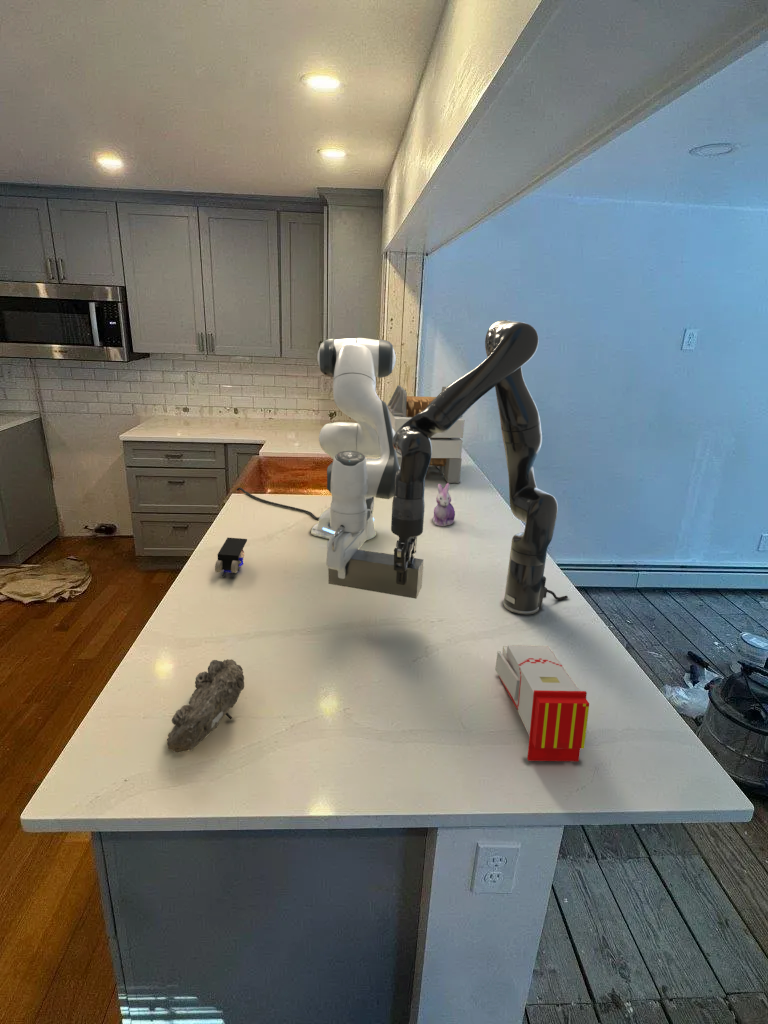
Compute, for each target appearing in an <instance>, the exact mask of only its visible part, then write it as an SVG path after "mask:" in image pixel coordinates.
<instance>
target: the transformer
mask: <svg viewBox="0 0 768 1024" xmlns="http://www.w3.org/2000/svg"><path fill="white" fill-rule="evenodd" d="M446 387H447V386H442V387H441V392H442V391H443V390H444V389H445V388H446ZM407 394H408V393H407V390H406V389H404V388H403V387H402V385H399V384H398V385H397V386H396V388H395V390H394V392H393V394H392V395H391V398H390V400H389V402H388V404H386V405H387V407H388V411H389V415H390V420H391V425H392V428H393V429H394V431H395V433H396V432H397V430H398V429H399V428H400V427H401V426H402V425H403V424H404V423H406V422H407V421H408V420H410V419H411V418H412V417H414V416H415V415H417V414H418V413H420V412H421V411H423V410H424V409H425V408H426V407H427V406H428V405H429V404H430V403H431V402H432V401H433V400H434V399H435V398H436V397H437V396H415V395H414V396H413V395H412V396H411V395H407ZM464 429H465V419H464V418H463V415H462V416H461V417H460V418H459V419H458V420H457V421H456V422H455V423H454V424H453V425H452V426H451V427H450V428H449V429H448V430H447V431H446V432H443V433H436V434H435V435H433V436H432V437H431V438H430V441H431V445H432V455H431V460H430V464H429V467H436V468H437V470H438V469H439V473H440V474H441V475H443V478H444V479H445V481H446V482H447V483H449V484H455V483H456V484H459V483H461V472H462V461H463V460H462V453H463V442H464V441H463V440H462V439H463V438H464V431H465V430H464ZM396 454H397V459H398V463H399V466H400V467H401V460H402V457H401V455H399V454H398V453H397V452H396Z"/></svg>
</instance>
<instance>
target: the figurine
mask: <svg viewBox="0 0 768 1024" xmlns="http://www.w3.org/2000/svg"><path fill="white" fill-rule="evenodd" d="M437 493H438V494H437V496H436V498H435V501H436V503H437V504H436V506H435V507H434V508H433V518H432V523H434V525H435V526H440V527H445V526H450V525H452V524H453V523H454V521H455V517H456V511H455V508H454V506H453V504H452V503H451V502H452V498H451V494H450V483H448V482H447V483H446V484H445V485H444V487H443V485H442V484H441V483H438V484H437Z"/></svg>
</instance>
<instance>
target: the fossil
mask: <svg viewBox="0 0 768 1024" xmlns="http://www.w3.org/2000/svg"><path fill="white" fill-rule="evenodd" d="M243 670H244V669H243V667H242V665H240V664H237V662H236V661H235V660H234V659H232V658H231V659H227V658H226V659H224V660H223V661H222V660H217V659H212V660H211V661H210V663H209V665H208V666H207V671H201V672H199V673H198V674H197V675H196V676H195V680H194V684H195V685H194V687H195V689H194V690H193V693H192V694H191V697H190V698H189V700H188V704H184V705H182V706H181V707H180V709H177V710H176V711H175V713H174V715H173V716H172V718H171V723H172V724H173V727H172V730H171V731H170V732H168V734H167V738H166V741H167V742H166V745H167V749H168V750H169V751H173V752H174V753H176V754H178V753H182V752H188V751H189V752H192V751H193V750H195V748H196V747H197V746H199V744H200V743H201V742H203V741H204V740H205V739H206V738H207V737H208V736H209V735H210V734H211V733H212V732H214V730H215V729H217V727H218V726H219V724H220V722H221V721H222V720H223V719H224V718H225V716H226V717H227V719H229V720H233V717H232V715H230V714H229V710H230V709H231V708H234V706H235V704H236V703H237V702H238V699H239V697H240V695H241V693H242V691H243V690H245V689H244V688H245V675H244V671H243Z"/></svg>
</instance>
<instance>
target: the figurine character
mask: <svg viewBox="0 0 768 1024" xmlns="http://www.w3.org/2000/svg"><path fill="white" fill-rule="evenodd" d="M247 542H248V538H240V537H226V539H225V541H224V543H223V544H222V546H221V547H220V549H219V551H218V552H217V560H216V562H215V564H214V572H215V573H221V577H222V578H224V577H225V576H226V574H227V573H230V574H231V573H232V574H231V578H234V577H235V575H236V573H237V572H239V571H240V567H242V566H243V565H244V564H245V562H244V558H245V551H244V547H245V546H246V544H247Z"/></svg>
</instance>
